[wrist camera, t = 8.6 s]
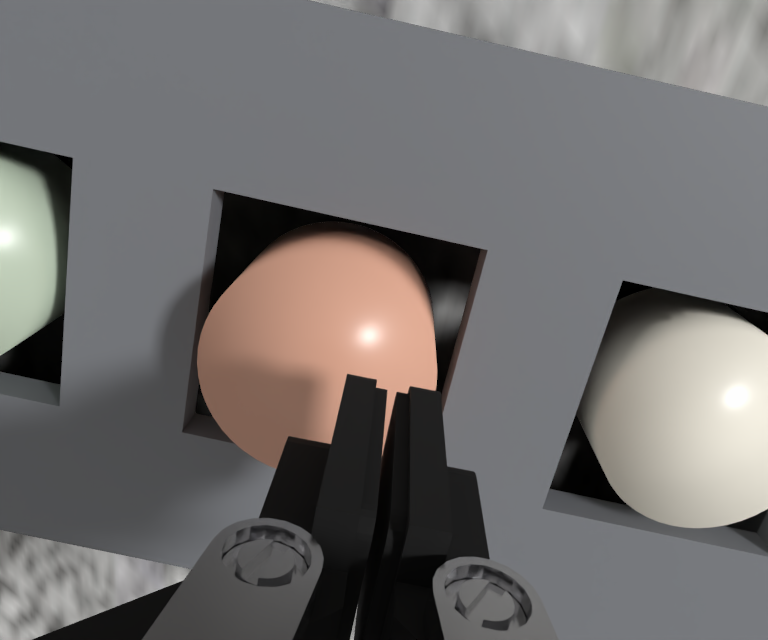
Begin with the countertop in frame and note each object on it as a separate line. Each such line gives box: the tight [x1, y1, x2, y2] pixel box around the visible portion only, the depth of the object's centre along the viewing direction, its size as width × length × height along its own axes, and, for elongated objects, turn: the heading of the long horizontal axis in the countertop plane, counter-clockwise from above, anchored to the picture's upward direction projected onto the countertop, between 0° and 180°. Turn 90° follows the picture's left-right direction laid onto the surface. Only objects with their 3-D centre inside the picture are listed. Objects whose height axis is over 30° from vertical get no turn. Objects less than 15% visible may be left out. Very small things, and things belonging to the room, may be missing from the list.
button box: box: [0, 0, 768, 640], centre depth 18 cm, size 28×14×5 cm, turn 78°
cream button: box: [576, 288, 768, 528], centre depth 17 cm, size 5×5×4 cm
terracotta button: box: [197, 221, 437, 469], centre depth 16 cm, size 5×5×4 cm
